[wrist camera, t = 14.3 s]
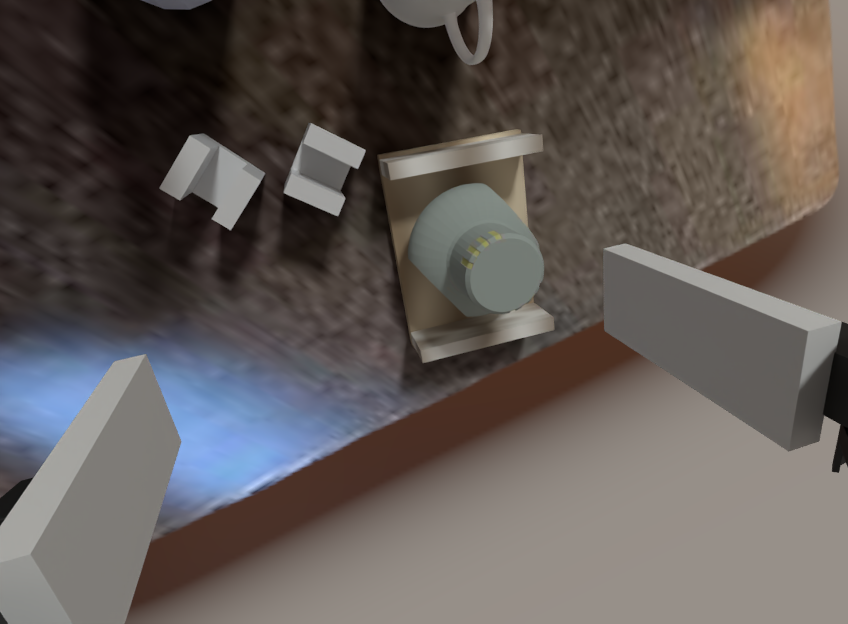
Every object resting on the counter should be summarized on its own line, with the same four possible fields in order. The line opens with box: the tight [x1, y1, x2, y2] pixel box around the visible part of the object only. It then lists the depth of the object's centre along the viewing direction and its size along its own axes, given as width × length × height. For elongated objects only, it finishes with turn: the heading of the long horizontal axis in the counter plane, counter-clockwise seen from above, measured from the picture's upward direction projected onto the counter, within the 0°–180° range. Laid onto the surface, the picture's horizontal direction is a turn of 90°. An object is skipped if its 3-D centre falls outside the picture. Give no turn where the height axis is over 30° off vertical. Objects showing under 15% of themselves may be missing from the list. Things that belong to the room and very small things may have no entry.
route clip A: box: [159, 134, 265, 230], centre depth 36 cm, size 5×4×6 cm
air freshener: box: [408, 183, 544, 317], centre depth 40 cm, size 11×8×10 cm
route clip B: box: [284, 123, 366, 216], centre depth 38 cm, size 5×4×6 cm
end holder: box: [377, 129, 554, 363], centre depth 43 cm, size 12×17×5 cm
